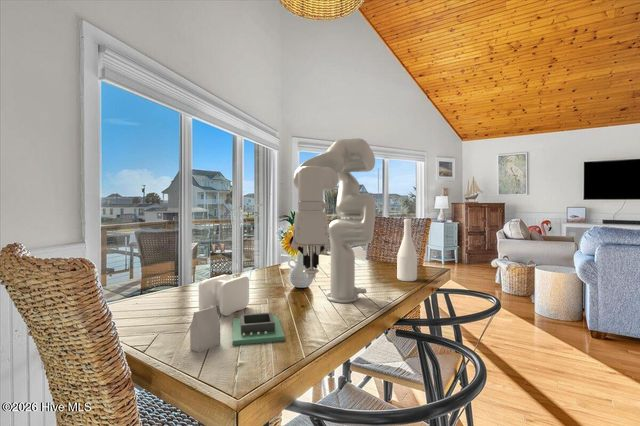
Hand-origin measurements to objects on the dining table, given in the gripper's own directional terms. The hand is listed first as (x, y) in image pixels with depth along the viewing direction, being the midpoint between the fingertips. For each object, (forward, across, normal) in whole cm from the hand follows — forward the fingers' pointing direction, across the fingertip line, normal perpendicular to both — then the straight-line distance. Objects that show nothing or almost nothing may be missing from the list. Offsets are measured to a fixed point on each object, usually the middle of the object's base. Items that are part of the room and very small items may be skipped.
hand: (310, 267), depth 107 cm
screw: (+3, 0, 0) cm, 3 cm away
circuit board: (+18, +16, -1) cm, 25 cm away
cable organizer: (+19, +26, -23) cm, 40 cm away
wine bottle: (+20, -60, -53) cm, 82 cm away
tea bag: (+19, +30, +7) cm, 36 cm away
